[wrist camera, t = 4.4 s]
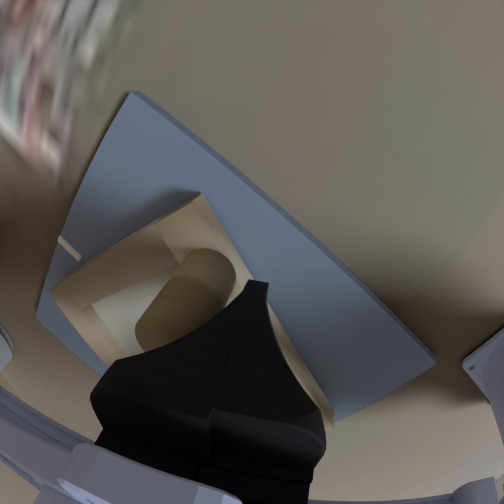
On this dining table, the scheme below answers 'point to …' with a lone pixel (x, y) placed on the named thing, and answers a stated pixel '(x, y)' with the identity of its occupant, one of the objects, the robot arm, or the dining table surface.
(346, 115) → the dining table surface
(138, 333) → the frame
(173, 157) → the board
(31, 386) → the dining table surface
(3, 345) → the energy drink can
